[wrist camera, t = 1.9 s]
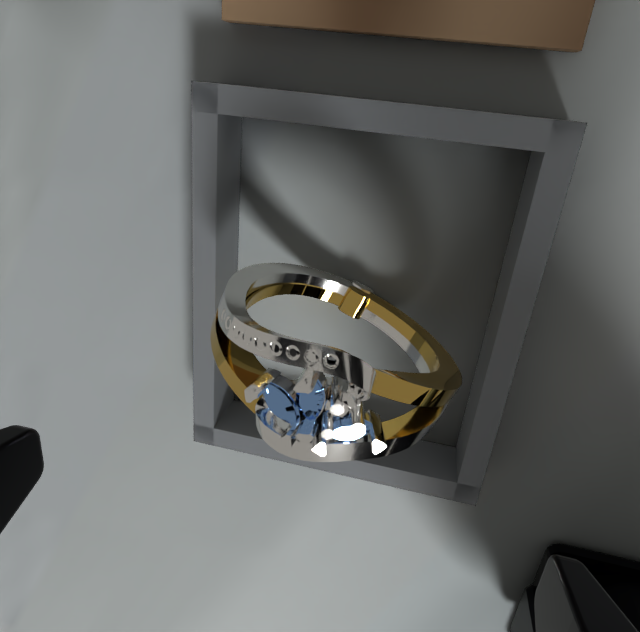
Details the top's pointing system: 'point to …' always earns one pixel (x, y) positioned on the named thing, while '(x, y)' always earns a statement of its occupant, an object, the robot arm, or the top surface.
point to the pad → (430, 19)
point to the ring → (327, 370)
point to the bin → (510, 297)
